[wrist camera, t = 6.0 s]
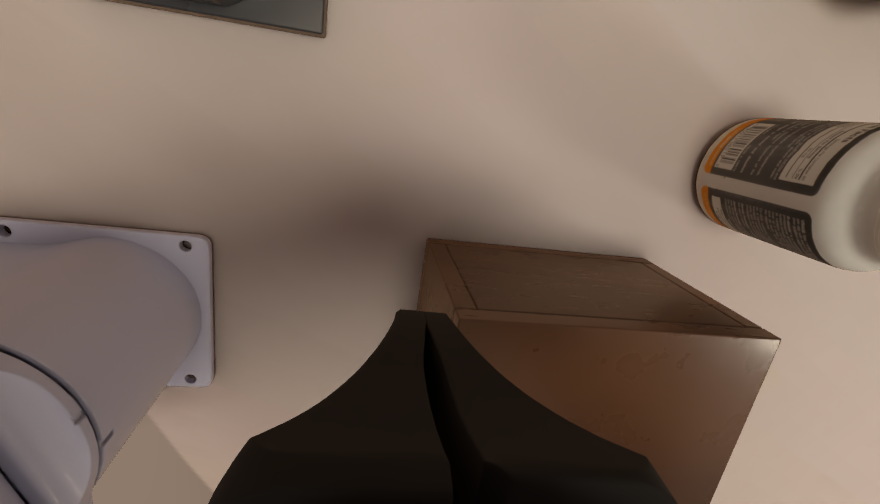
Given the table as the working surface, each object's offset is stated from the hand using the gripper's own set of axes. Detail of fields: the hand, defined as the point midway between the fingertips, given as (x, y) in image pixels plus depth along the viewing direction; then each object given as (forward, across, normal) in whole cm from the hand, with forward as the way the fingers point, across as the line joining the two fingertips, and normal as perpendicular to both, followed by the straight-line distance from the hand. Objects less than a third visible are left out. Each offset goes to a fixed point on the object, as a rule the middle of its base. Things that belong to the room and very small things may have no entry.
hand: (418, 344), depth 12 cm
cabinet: (+11, -7, +7) cm, 15 cm away
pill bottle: (+12, -17, -5) cm, 21 cm away
